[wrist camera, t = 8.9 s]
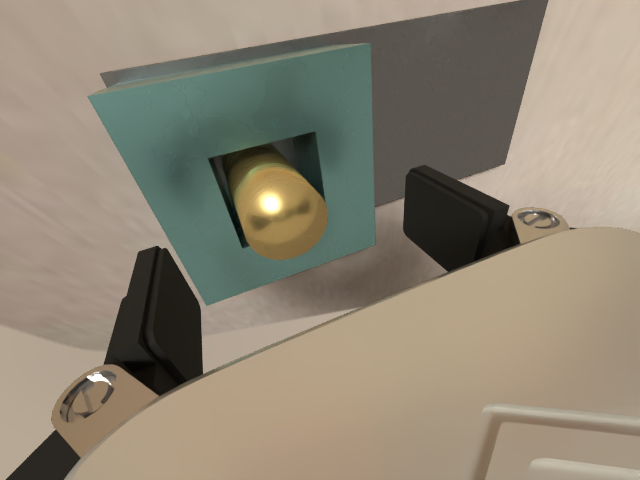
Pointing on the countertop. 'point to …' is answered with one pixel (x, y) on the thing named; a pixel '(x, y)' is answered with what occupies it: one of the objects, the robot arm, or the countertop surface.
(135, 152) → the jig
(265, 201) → the gold rounded cylinder
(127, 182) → the countertop surface
